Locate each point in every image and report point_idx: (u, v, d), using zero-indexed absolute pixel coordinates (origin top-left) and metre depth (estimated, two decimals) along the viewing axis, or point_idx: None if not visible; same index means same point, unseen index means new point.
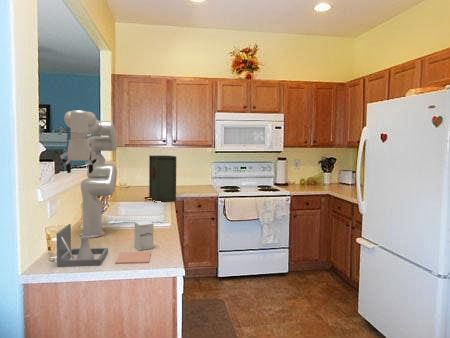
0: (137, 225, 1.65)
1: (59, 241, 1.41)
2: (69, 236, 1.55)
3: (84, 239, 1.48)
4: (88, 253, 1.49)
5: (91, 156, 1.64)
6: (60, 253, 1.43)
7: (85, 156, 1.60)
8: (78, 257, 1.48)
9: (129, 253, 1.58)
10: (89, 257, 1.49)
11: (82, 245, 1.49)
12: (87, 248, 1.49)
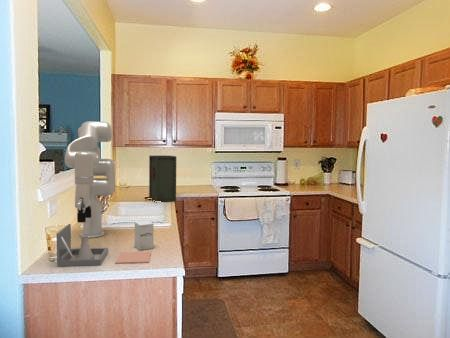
0: (137, 225, 1.65)
1: (59, 241, 1.41)
2: (69, 236, 1.55)
3: (84, 239, 1.48)
4: (88, 253, 1.49)
5: None
6: (60, 253, 1.43)
7: (91, 200, 1.52)
8: (78, 257, 1.48)
9: (129, 253, 1.58)
10: (89, 257, 1.49)
11: (82, 245, 1.49)
12: (87, 248, 1.49)
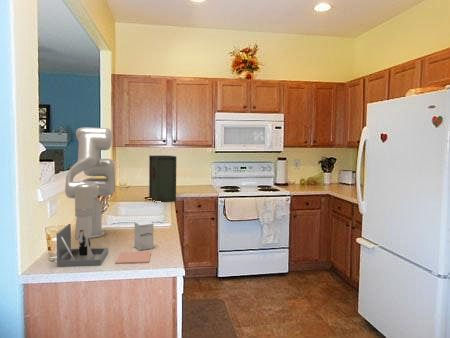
0: (137, 225, 1.65)
1: (59, 241, 1.41)
2: (69, 236, 1.55)
3: None
4: (88, 253, 1.49)
5: None
6: (60, 253, 1.43)
7: (91, 230, 1.53)
8: (78, 257, 1.48)
9: (129, 253, 1.58)
10: (89, 257, 1.49)
11: None
12: (87, 248, 1.49)
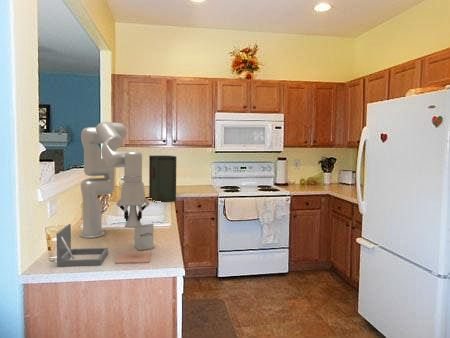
0: None
1: (59, 241, 1.41)
2: (69, 236, 1.55)
3: None
4: None
5: (120, 200, 1.50)
6: (60, 253, 1.43)
7: None
8: (137, 223, 1.50)
9: (129, 253, 1.58)
10: None
11: (135, 211, 1.51)
12: None
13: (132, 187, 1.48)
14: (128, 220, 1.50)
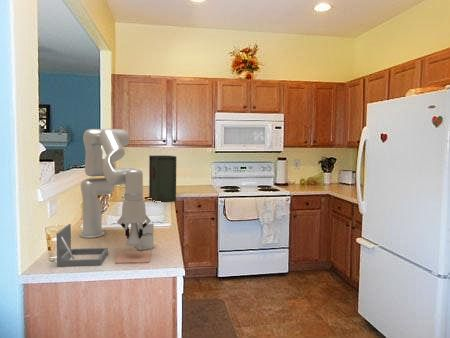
0: (137, 225, 1.65)
1: (59, 241, 1.41)
2: (69, 236, 1.55)
3: None
4: None
5: (121, 218, 1.50)
6: (60, 253, 1.43)
7: None
8: (138, 241, 1.51)
9: (129, 253, 1.58)
10: None
11: (136, 229, 1.52)
12: None
13: (133, 205, 1.49)
14: (129, 238, 1.51)
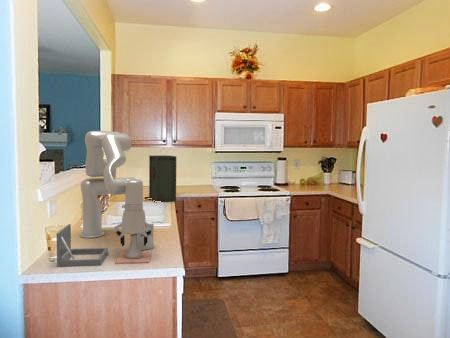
0: None
1: (59, 241, 1.41)
2: (69, 236, 1.55)
3: None
4: None
5: None
6: (60, 253, 1.43)
7: None
8: (138, 254, 1.52)
9: None
10: None
11: (136, 242, 1.53)
12: None
13: (133, 215, 1.49)
14: (129, 251, 1.51)
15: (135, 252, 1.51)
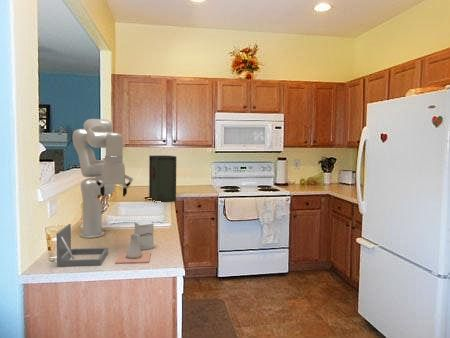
0: (137, 225, 1.65)
1: (59, 241, 1.41)
2: (69, 236, 1.55)
3: None
4: None
5: (102, 179, 1.59)
6: (60, 253, 1.43)
7: None
8: (138, 254, 1.52)
9: None
10: None
11: (136, 242, 1.53)
12: None
13: (113, 166, 1.57)
14: (129, 251, 1.51)
15: (135, 252, 1.51)
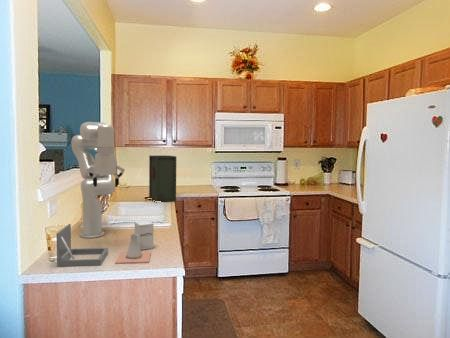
0: (137, 225, 1.65)
1: (59, 241, 1.41)
2: (69, 236, 1.55)
3: None
4: None
5: (94, 170, 1.62)
6: (60, 253, 1.43)
7: None
8: (138, 254, 1.52)
9: None
10: None
11: (136, 242, 1.53)
12: None
13: (104, 157, 1.61)
14: (129, 251, 1.51)
15: (135, 252, 1.51)
